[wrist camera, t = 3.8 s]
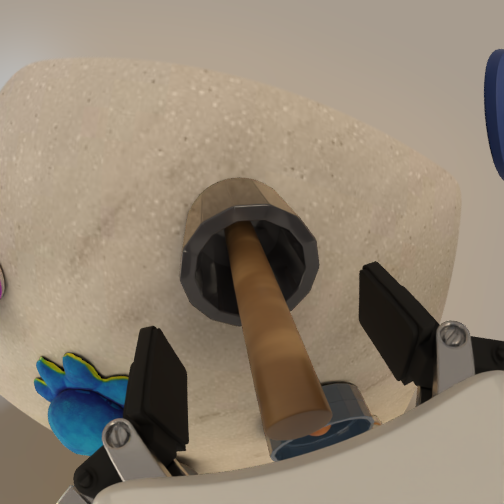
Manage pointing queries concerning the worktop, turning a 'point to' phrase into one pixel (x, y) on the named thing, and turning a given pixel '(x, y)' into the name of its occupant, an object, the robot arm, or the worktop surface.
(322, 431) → the bead
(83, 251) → the worktop surface
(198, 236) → the holder
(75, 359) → the plush toy
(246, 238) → the stick
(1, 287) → the supplement bottle
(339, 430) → the mixing bowl
